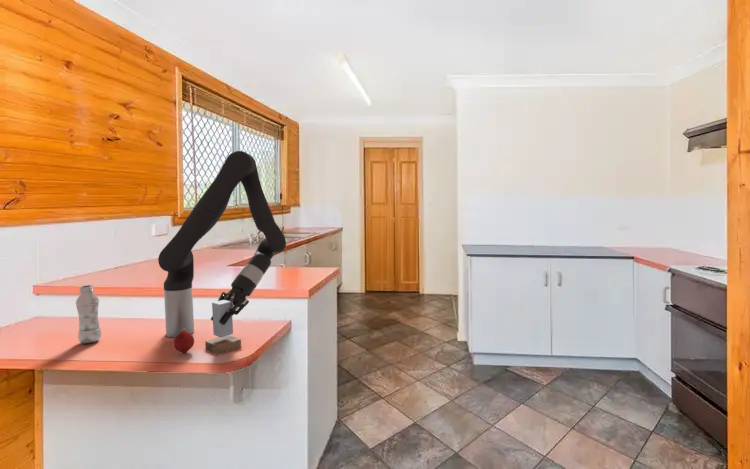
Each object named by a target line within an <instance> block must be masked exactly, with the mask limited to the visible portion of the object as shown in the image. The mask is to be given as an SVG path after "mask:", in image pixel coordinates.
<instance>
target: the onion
mask: <svg viewBox="0 0 750 469" xmlns="http://www.w3.org/2000/svg"><path fill="white" fill-rule="evenodd" d="M194 344H195V338H194V336H193V335H192V334H190V333H188V332H186V329H183V330H182V331H181V332H180V333H179V334H178V335H177V336H176V337H174V340H173V347H174V349H175V350H176V351H177V352H179V353H182V354H186V353H188V351H190V350H191V349H192V348H193V346H194Z"/></svg>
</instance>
